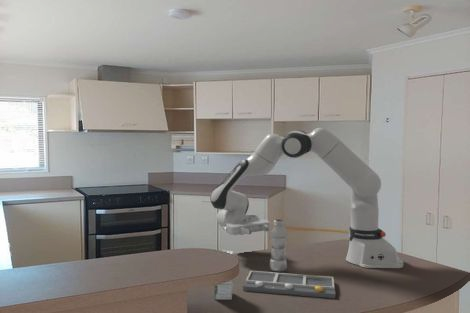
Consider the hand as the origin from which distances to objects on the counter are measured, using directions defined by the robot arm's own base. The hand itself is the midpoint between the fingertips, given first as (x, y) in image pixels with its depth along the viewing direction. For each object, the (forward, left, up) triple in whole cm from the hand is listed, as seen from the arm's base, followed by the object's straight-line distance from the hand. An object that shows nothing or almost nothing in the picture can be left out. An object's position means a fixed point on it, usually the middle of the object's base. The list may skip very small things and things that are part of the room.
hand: (259, 230), depth 162 cm
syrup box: (+6, +37, -13) cm, 39 cm away
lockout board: (-14, +24, -13) cm, 31 cm away
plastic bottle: (-9, +9, -13) cm, 18 cm away
